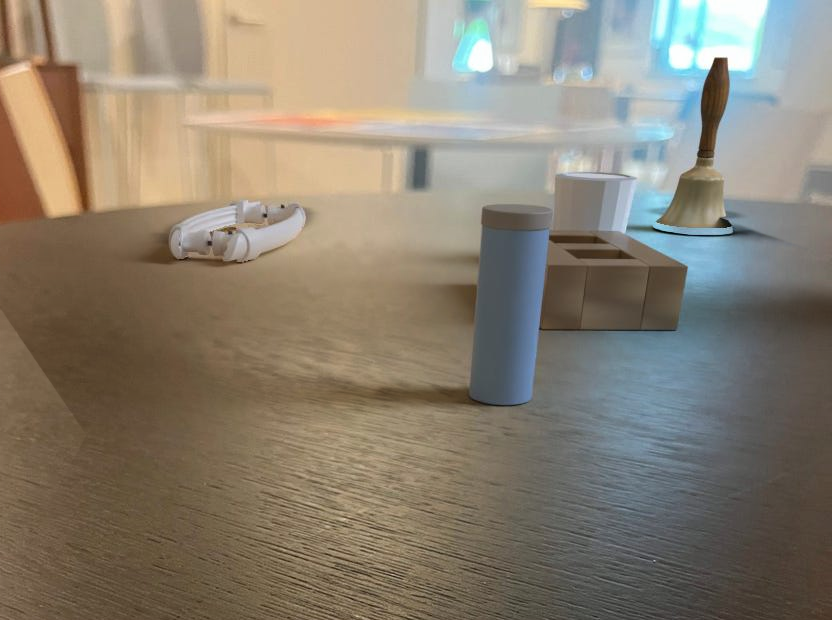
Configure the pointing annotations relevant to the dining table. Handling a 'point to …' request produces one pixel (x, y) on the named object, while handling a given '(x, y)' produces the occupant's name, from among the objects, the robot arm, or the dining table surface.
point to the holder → (609, 283)
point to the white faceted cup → (593, 201)
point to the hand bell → (704, 162)
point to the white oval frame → (237, 230)
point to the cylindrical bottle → (508, 302)
